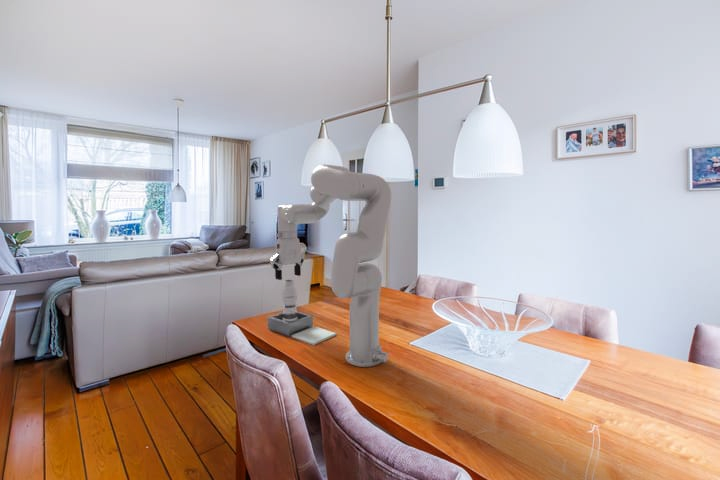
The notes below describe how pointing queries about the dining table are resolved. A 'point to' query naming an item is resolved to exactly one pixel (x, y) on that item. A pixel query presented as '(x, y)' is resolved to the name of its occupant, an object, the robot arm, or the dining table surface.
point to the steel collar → (290, 324)
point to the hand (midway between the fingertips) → (288, 277)
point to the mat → (313, 335)
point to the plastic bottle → (289, 301)
